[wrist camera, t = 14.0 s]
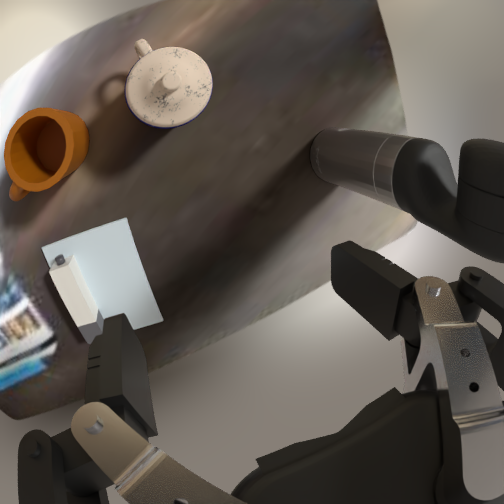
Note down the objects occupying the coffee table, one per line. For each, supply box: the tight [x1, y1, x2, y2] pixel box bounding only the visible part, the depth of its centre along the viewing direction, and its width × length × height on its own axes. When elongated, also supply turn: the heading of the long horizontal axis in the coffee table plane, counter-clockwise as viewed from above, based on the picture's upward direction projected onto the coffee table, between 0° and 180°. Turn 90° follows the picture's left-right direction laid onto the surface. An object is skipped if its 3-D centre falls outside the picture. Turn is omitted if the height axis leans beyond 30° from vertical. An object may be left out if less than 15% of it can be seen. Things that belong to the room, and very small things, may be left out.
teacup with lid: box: [125, 39, 213, 129], centre depth 25 cm, size 12×9×12 cm
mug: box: [4, 108, 90, 201], centre depth 24 cm, size 9×12×9 cm
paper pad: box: [42, 218, 164, 330], centre depth 38 cm, size 14×18×1 cm
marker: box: [49, 254, 104, 344], centre depth 35 cm, size 14×3×3 cm, turn 9°
